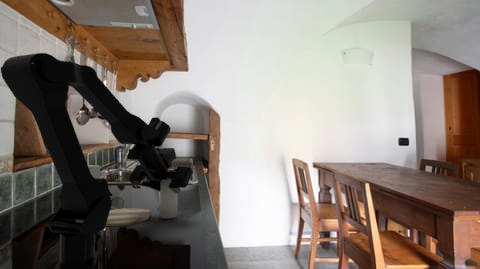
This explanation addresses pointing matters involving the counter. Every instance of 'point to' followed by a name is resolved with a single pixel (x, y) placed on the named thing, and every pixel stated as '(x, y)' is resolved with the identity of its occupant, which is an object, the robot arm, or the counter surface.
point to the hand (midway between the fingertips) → (171, 192)
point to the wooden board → (127, 216)
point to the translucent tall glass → (167, 200)
